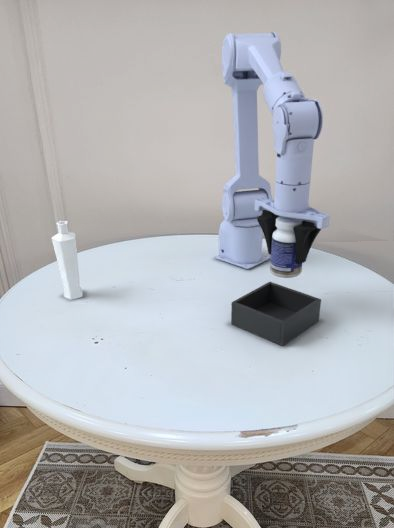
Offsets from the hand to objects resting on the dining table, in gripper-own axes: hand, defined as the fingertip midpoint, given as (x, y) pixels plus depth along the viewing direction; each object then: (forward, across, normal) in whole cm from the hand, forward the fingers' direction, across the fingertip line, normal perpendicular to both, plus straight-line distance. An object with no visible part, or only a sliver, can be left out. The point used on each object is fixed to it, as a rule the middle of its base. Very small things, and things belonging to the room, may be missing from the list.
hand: (287, 257), depth 95 cm
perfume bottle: (+10, +33, +25) cm, 43 cm away
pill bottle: (+3, 0, 0) cm, 3 cm away
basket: (+10, -3, +6) cm, 12 cm away
